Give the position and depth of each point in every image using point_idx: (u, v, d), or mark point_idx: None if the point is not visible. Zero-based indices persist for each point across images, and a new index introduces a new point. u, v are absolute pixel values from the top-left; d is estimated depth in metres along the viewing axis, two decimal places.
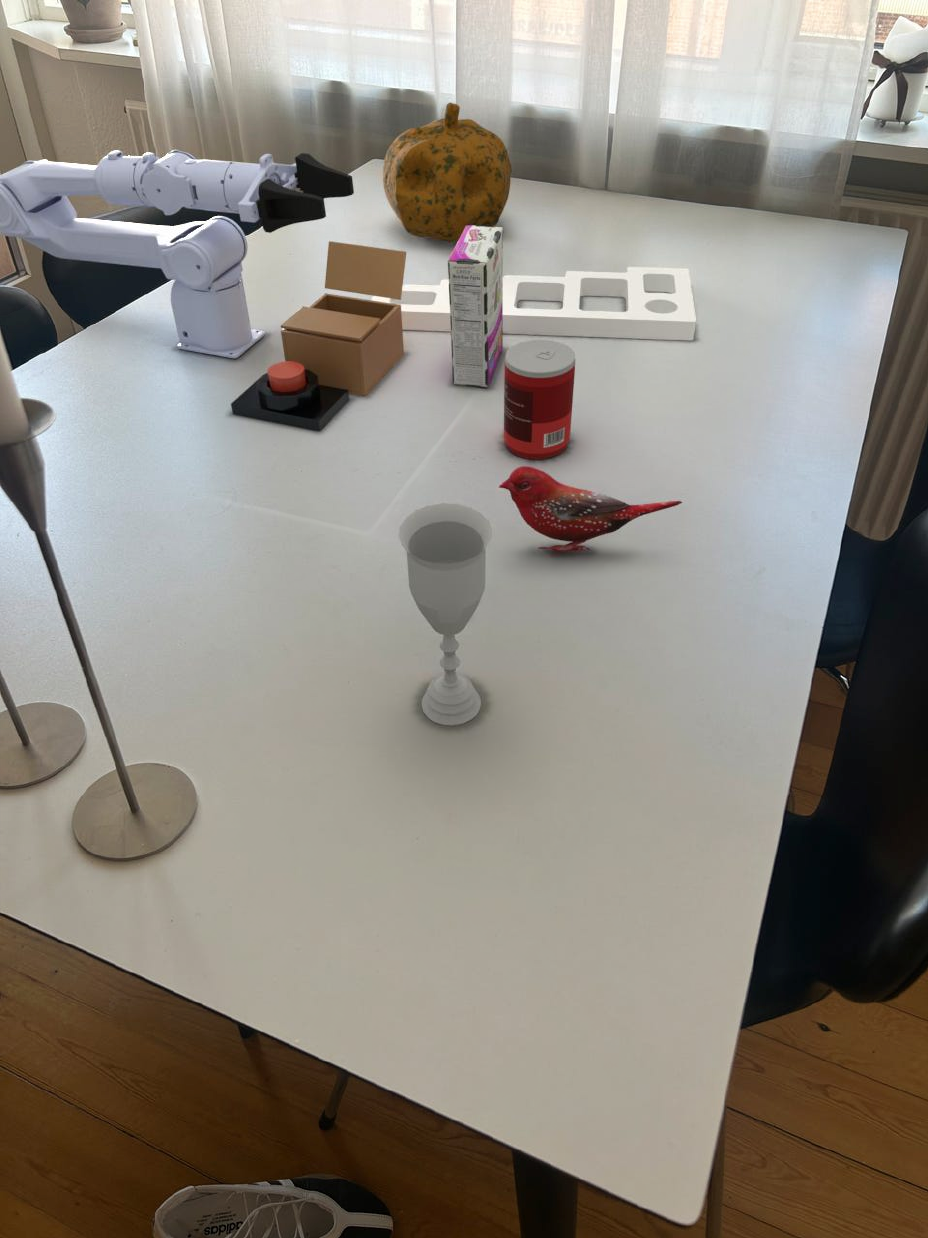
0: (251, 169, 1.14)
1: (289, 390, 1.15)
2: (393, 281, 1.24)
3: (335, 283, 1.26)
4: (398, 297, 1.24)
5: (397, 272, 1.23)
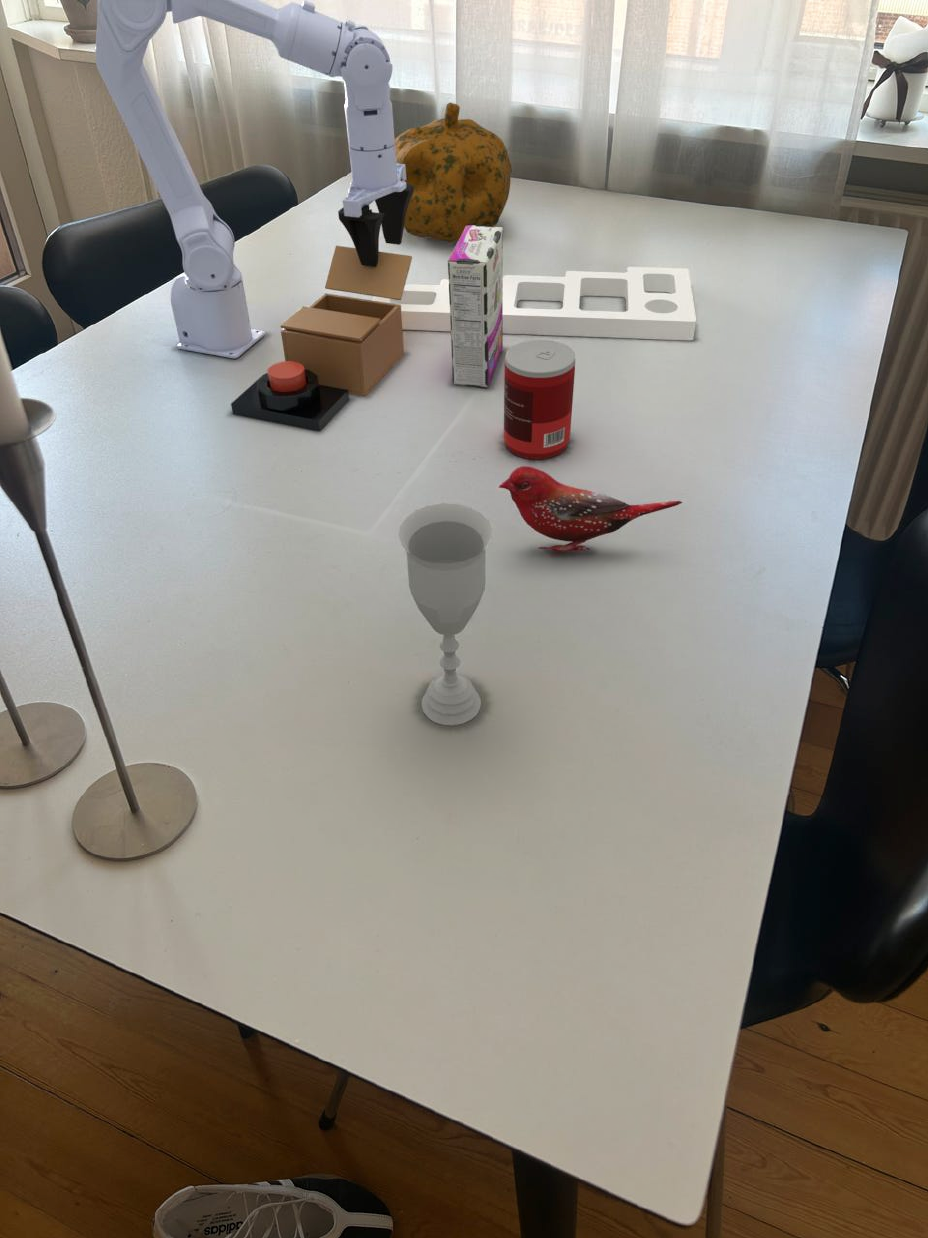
0: (389, 175, 1.20)
1: (289, 390, 1.15)
2: (396, 282, 1.25)
3: (336, 283, 1.27)
4: (398, 297, 1.24)
5: (401, 274, 1.24)
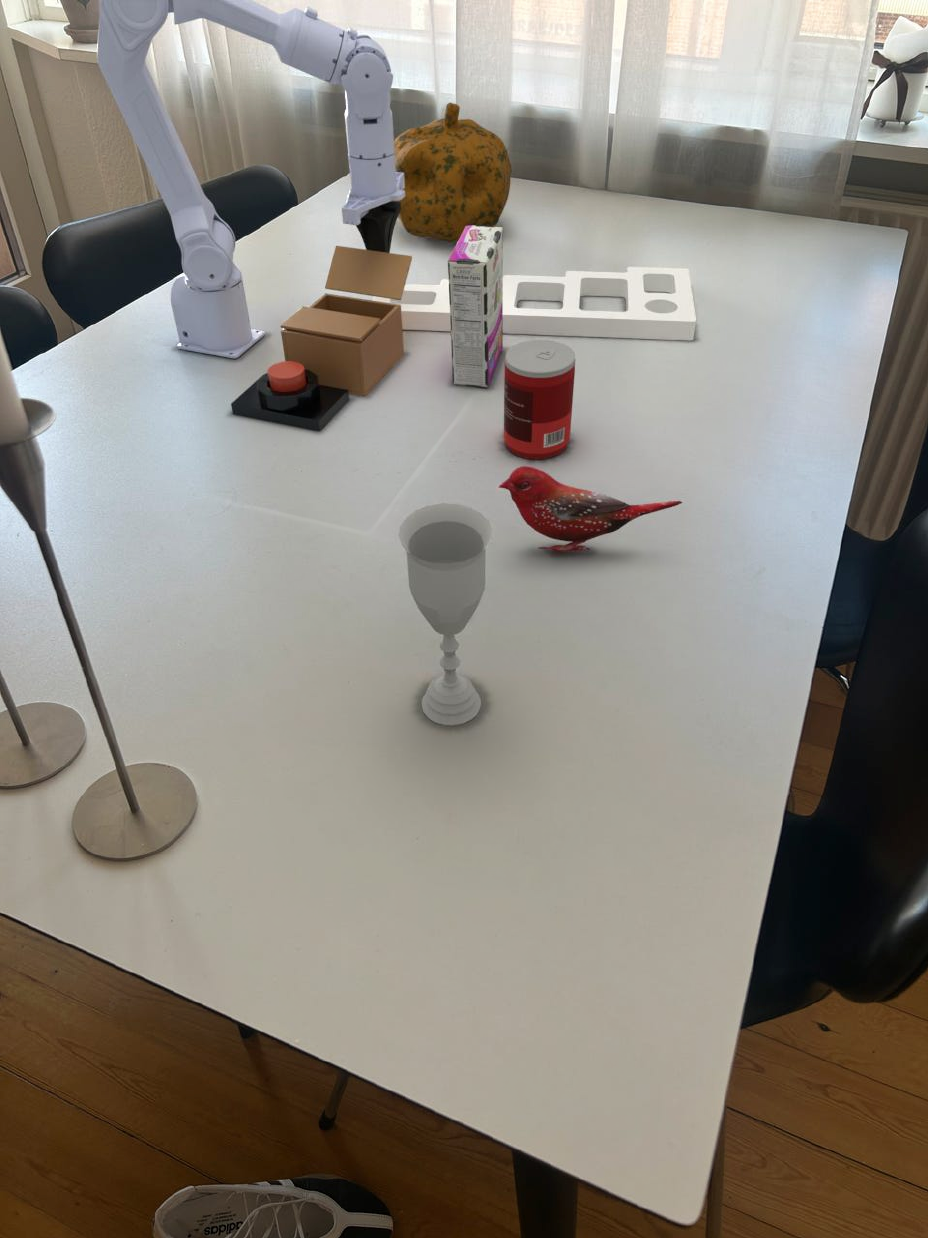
0: (389, 184, 1.20)
1: (289, 390, 1.15)
2: (396, 282, 1.25)
3: (336, 283, 1.27)
4: (398, 297, 1.24)
5: (401, 274, 1.24)
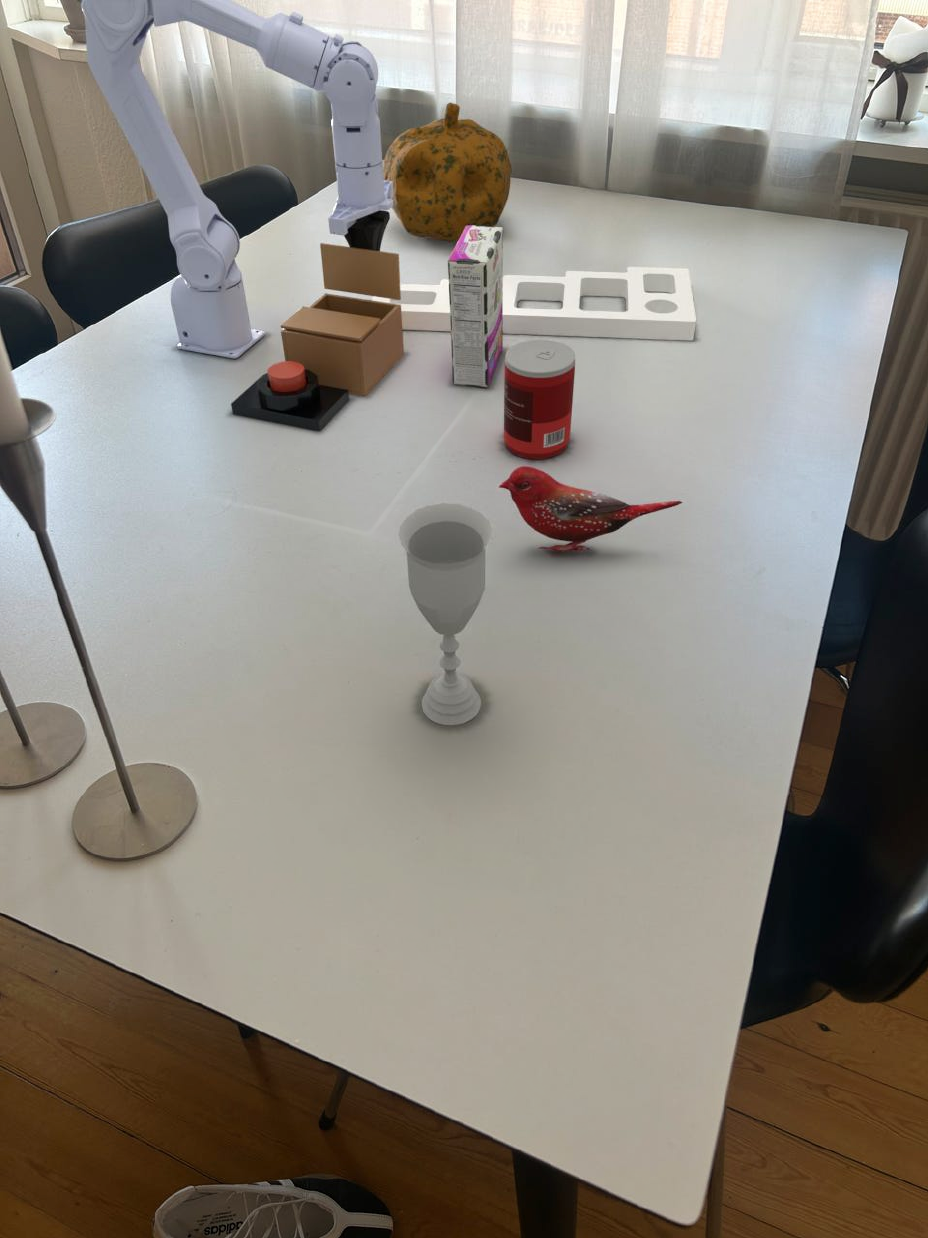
0: (376, 193, 1.17)
1: (289, 390, 1.15)
2: (391, 282, 1.23)
3: (334, 284, 1.26)
4: (398, 298, 1.24)
5: (393, 274, 1.22)
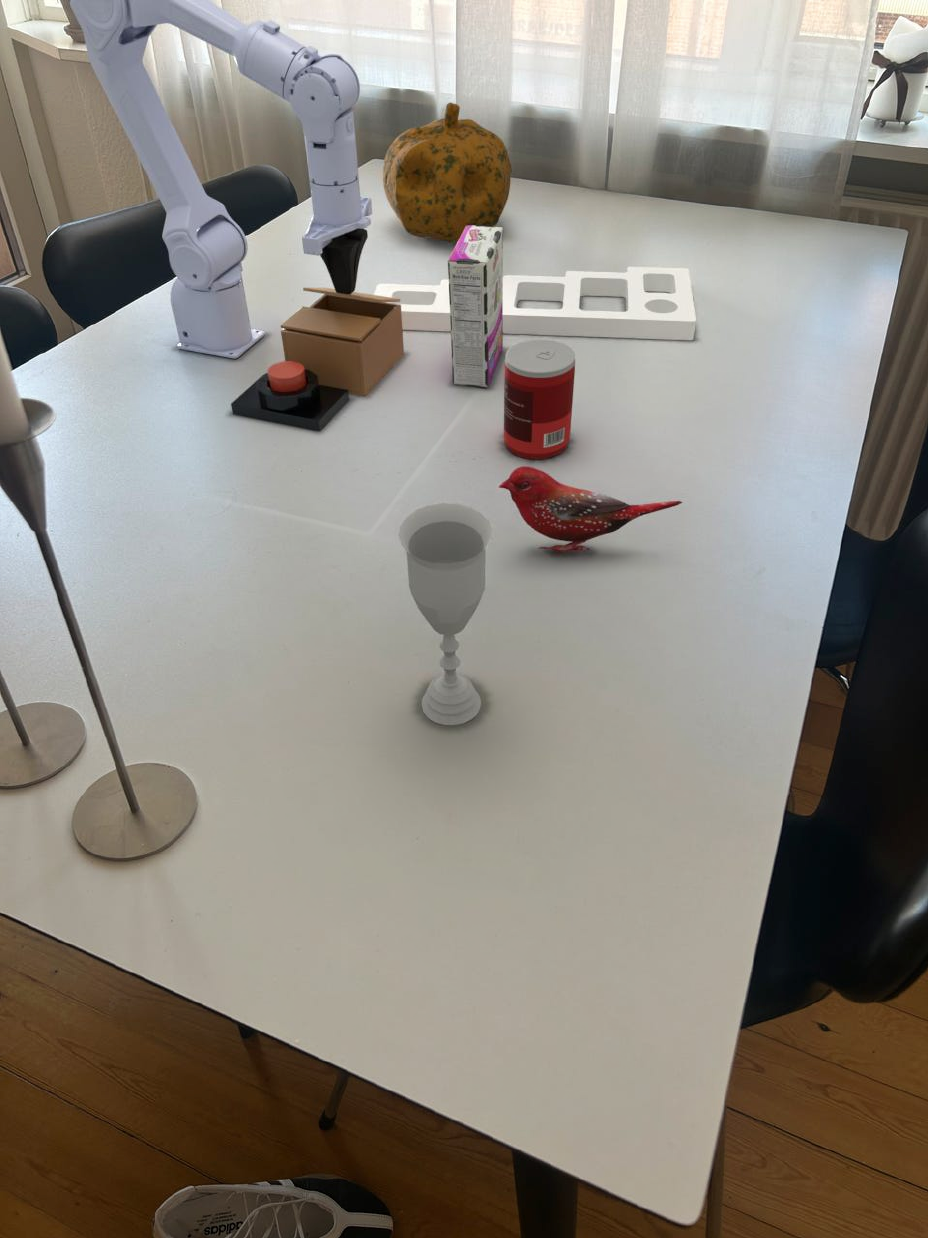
0: (353, 211, 1.13)
1: (289, 390, 1.15)
2: None
3: None
4: (397, 301, 1.24)
5: None
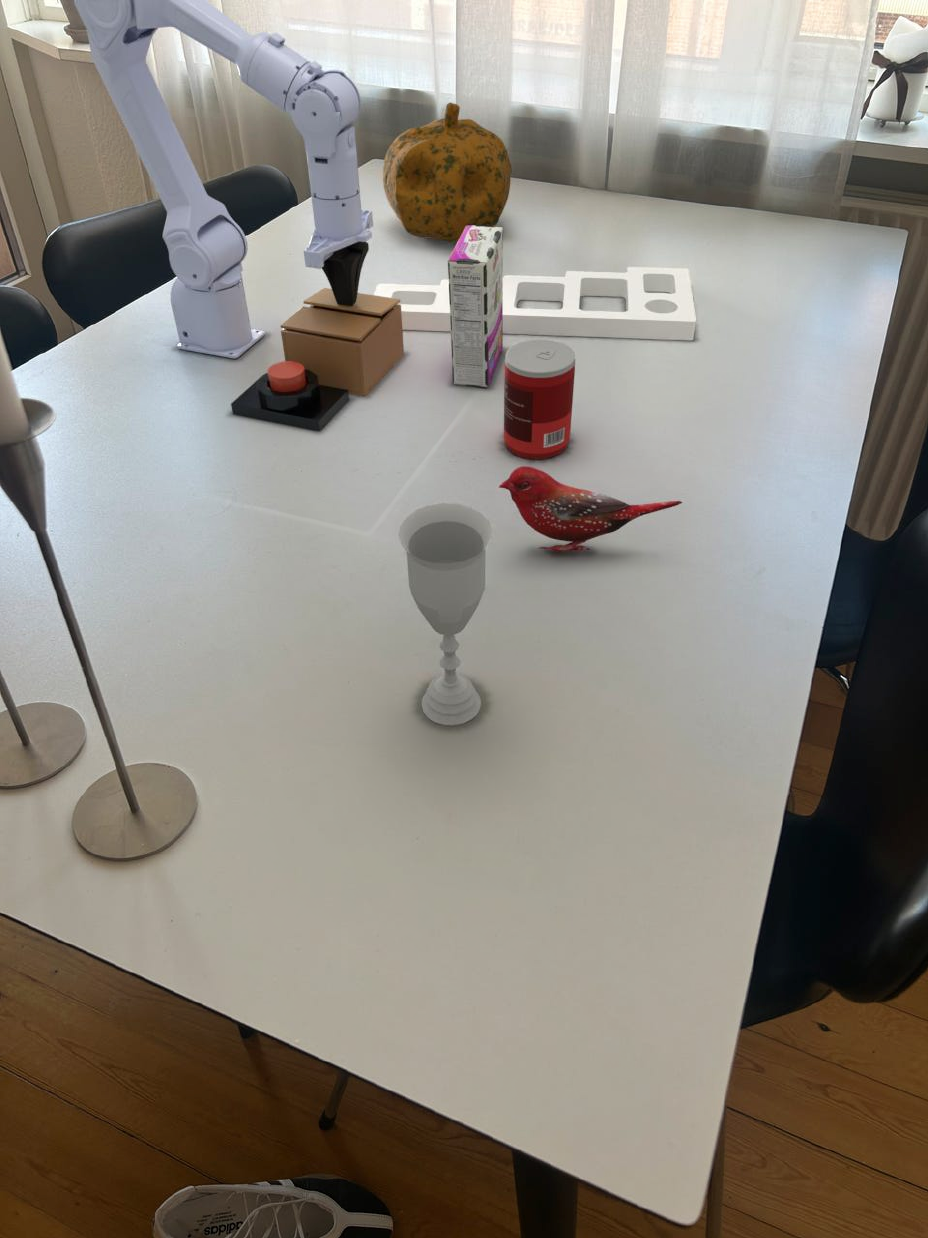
0: (354, 224, 1.14)
1: (289, 390, 1.15)
2: None
3: None
4: None
5: None
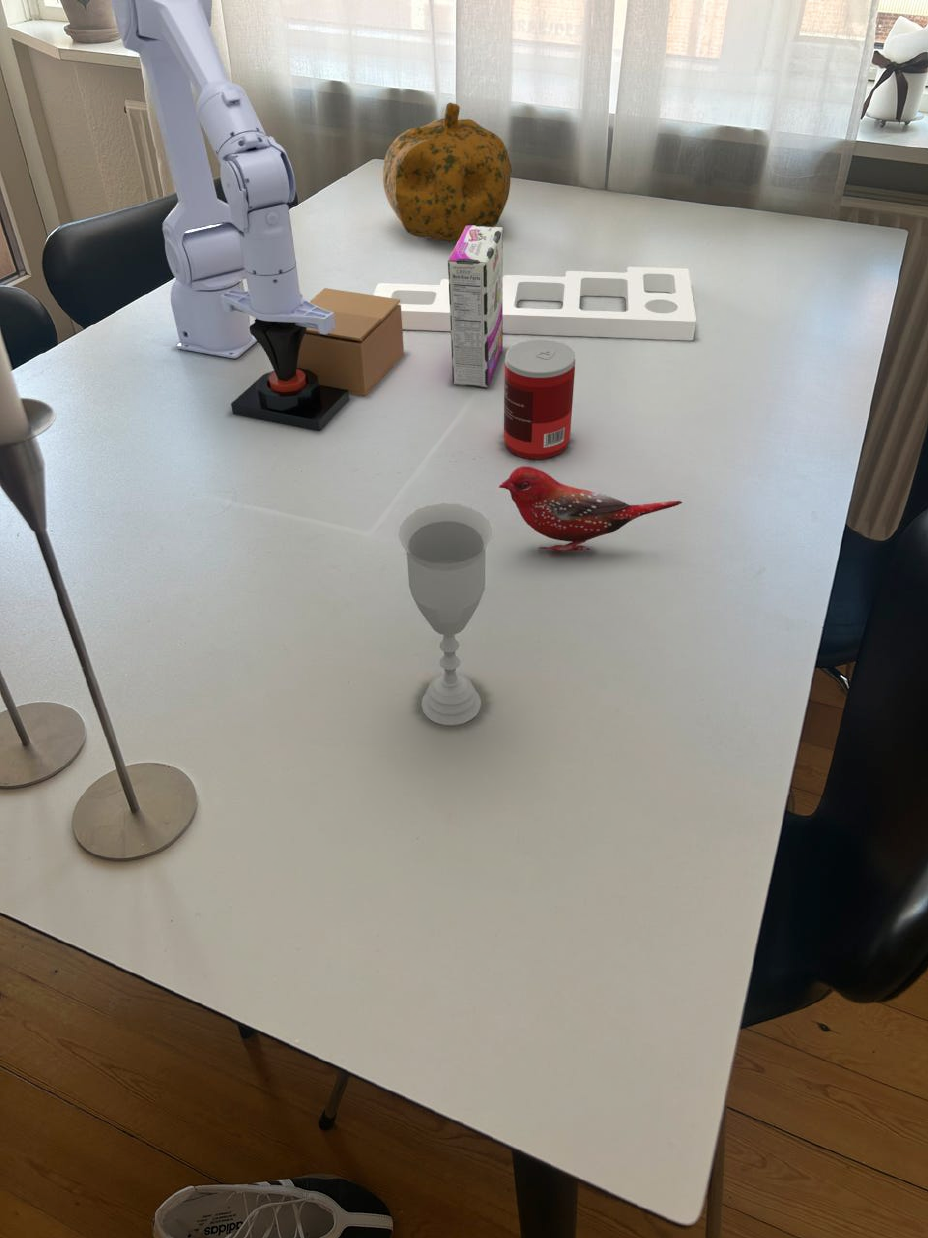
0: None
1: None
2: None
3: None
4: None
5: None
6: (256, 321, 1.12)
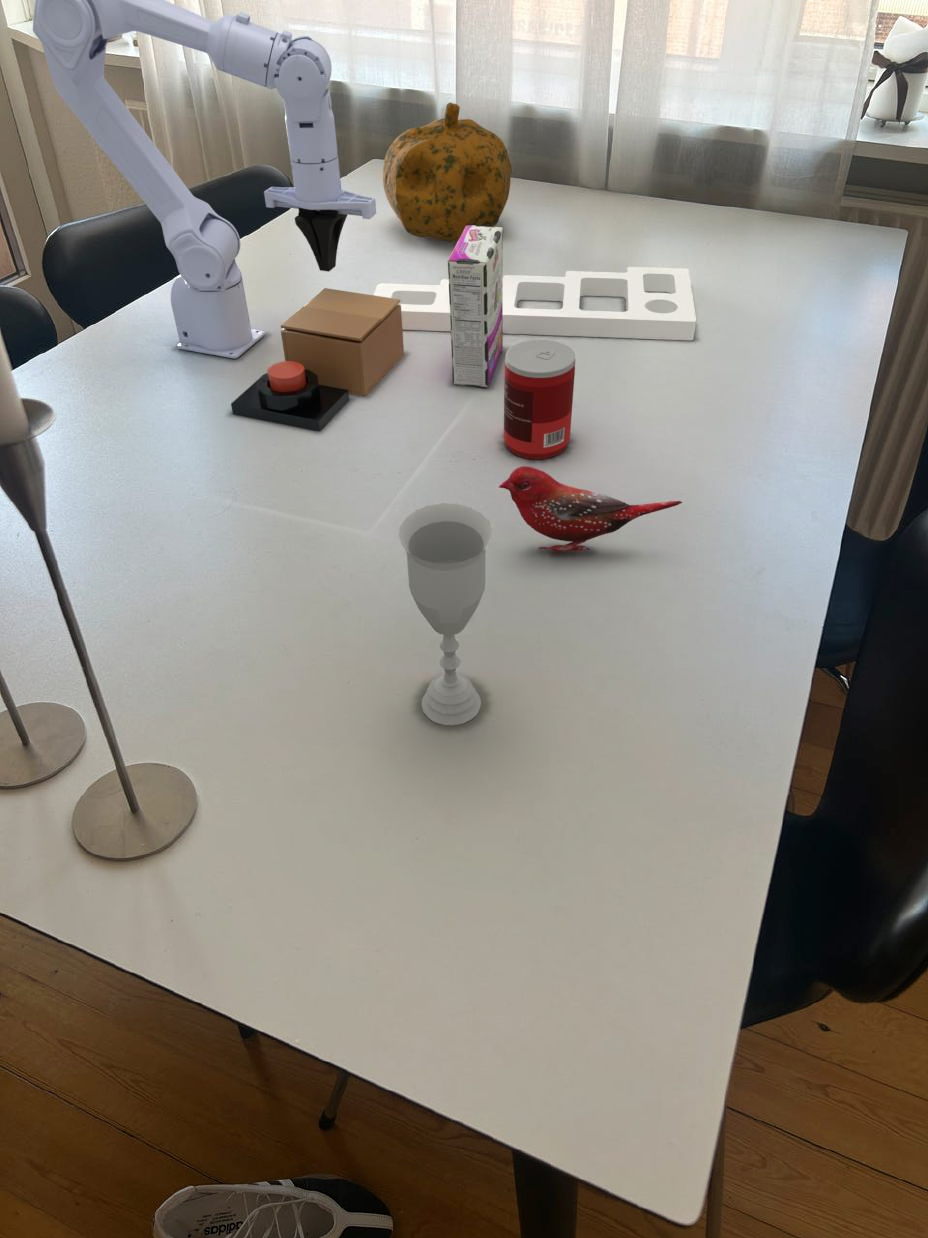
0: None
1: (289, 390, 1.15)
2: None
3: None
4: None
5: None
6: (299, 213, 1.21)
